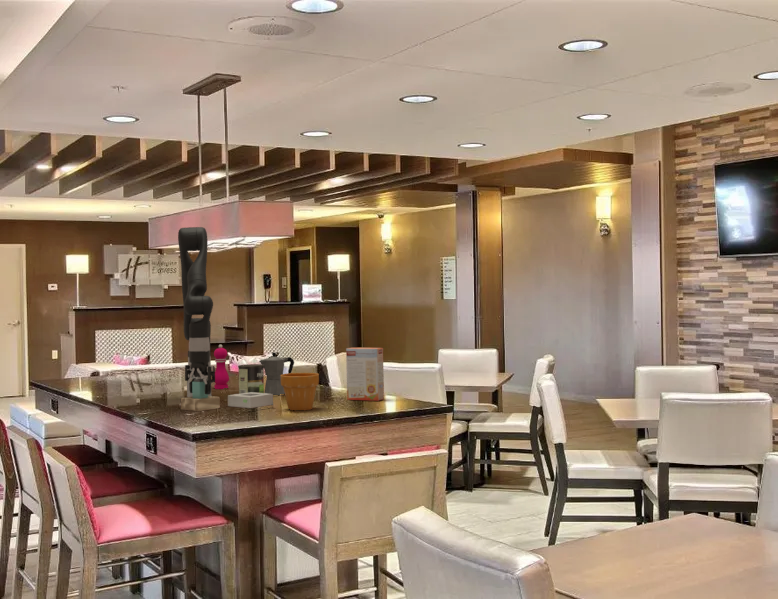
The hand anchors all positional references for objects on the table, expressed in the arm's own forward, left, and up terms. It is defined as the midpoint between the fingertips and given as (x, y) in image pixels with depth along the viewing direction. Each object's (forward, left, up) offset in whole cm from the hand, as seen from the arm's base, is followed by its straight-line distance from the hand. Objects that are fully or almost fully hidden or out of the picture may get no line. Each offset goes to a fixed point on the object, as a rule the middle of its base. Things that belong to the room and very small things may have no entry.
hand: (200, 393), depth 338 cm
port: (+10, +16, -7) cm, 20 cm away
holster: (0, 0, -7) cm, 7 cm away
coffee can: (-8, +34, -7) cm, 36 cm away
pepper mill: (-50, +56, -7) cm, 75 cm away
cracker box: (+33, +57, -7) cm, 66 cm away
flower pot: (+29, +23, -7) cm, 38 cm away
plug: (0, 0, -6) cm, 6 cm away
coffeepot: (-11, +52, -7) cm, 54 cm away
